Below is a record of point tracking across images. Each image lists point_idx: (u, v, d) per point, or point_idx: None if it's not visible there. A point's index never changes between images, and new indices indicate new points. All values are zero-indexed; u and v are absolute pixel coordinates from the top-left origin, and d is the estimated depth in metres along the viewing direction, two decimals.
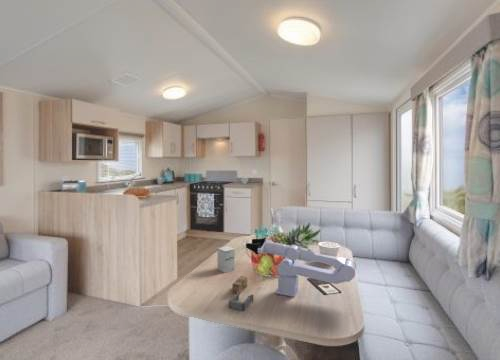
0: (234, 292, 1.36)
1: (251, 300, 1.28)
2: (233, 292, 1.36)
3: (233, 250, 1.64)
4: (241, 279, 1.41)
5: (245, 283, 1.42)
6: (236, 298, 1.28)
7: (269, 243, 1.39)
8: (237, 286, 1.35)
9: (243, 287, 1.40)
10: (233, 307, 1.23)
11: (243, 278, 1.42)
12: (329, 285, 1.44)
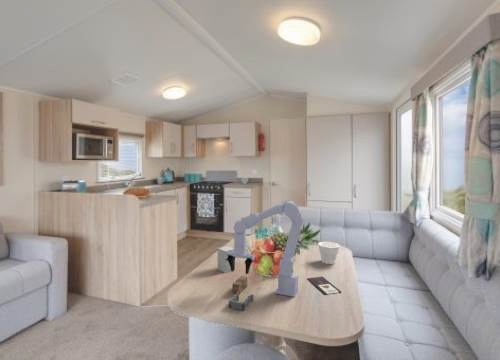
0: (234, 292, 1.36)
1: (251, 300, 1.28)
2: (233, 292, 1.36)
3: (233, 250, 1.64)
4: (241, 279, 1.41)
5: (245, 283, 1.42)
6: (236, 298, 1.28)
7: (240, 251, 1.36)
8: (237, 286, 1.35)
9: (243, 287, 1.40)
10: (233, 307, 1.23)
11: (243, 278, 1.43)
12: (330, 285, 1.44)
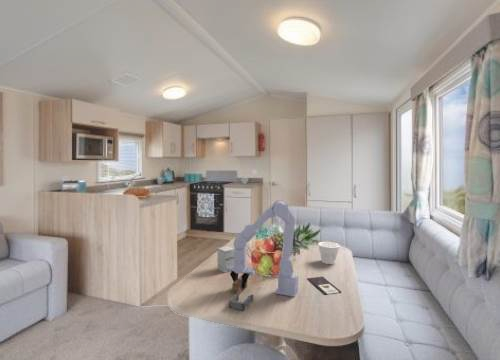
0: (234, 292, 1.36)
1: (251, 300, 1.28)
2: (233, 292, 1.36)
3: (233, 250, 1.64)
4: (241, 278, 1.41)
5: None
6: (236, 298, 1.28)
7: (240, 267, 1.36)
8: (237, 285, 1.35)
9: None
10: (233, 307, 1.23)
11: None
12: (330, 285, 1.44)
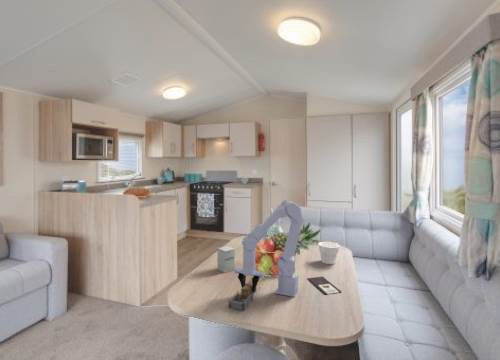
0: (243, 297, 1.31)
1: (251, 300, 1.28)
2: (242, 297, 1.31)
3: (233, 250, 1.64)
4: (250, 283, 1.36)
5: None
6: (236, 298, 1.28)
7: (249, 269, 1.31)
8: (247, 291, 1.30)
9: (252, 292, 1.35)
10: (233, 307, 1.23)
11: None
12: (330, 285, 1.44)
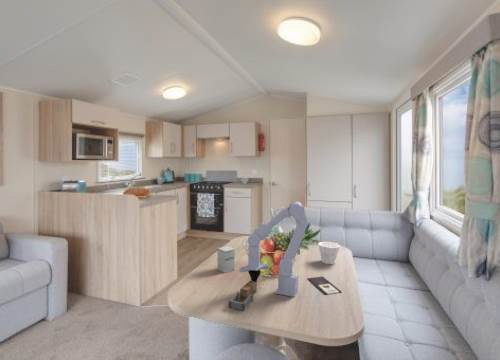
0: (242, 297, 1.30)
1: (251, 300, 1.28)
2: (241, 297, 1.31)
3: (233, 250, 1.64)
4: (250, 283, 1.36)
5: (254, 288, 1.36)
6: (236, 298, 1.28)
7: (258, 264, 1.38)
8: (245, 291, 1.29)
9: (252, 292, 1.34)
10: (233, 307, 1.23)
11: (252, 282, 1.37)
12: (330, 285, 1.44)
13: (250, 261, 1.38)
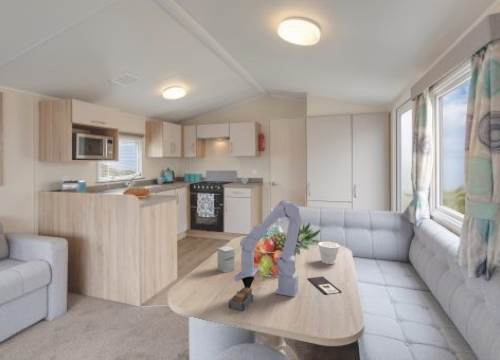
0: None
1: (251, 300, 1.28)
2: None
3: (233, 250, 1.64)
4: (245, 290, 1.29)
5: None
6: None
7: (253, 269, 1.32)
8: (239, 298, 1.22)
9: None
10: (233, 307, 1.23)
11: (247, 289, 1.30)
12: (330, 285, 1.44)
13: (245, 267, 1.30)
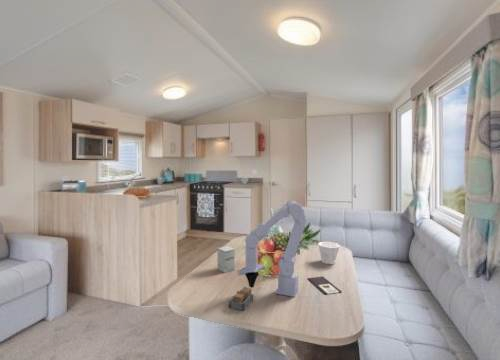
0: None
1: (251, 300, 1.28)
2: None
3: (233, 250, 1.64)
4: (244, 290, 1.29)
5: (248, 295, 1.29)
6: None
7: (256, 265, 1.36)
8: (239, 299, 1.23)
9: None
10: (233, 307, 1.23)
11: (246, 289, 1.30)
12: (330, 285, 1.44)
13: (248, 263, 1.34)
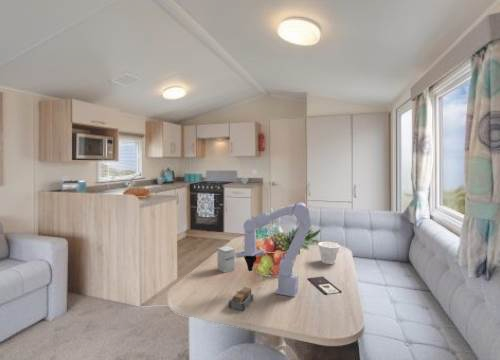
0: None
1: (251, 300, 1.28)
2: None
3: (233, 250, 1.64)
4: (244, 290, 1.29)
5: (248, 295, 1.29)
6: None
7: (254, 249, 1.38)
8: (239, 299, 1.23)
9: None
10: (233, 307, 1.23)
11: (246, 289, 1.30)
12: (330, 285, 1.44)
13: (246, 247, 1.38)
